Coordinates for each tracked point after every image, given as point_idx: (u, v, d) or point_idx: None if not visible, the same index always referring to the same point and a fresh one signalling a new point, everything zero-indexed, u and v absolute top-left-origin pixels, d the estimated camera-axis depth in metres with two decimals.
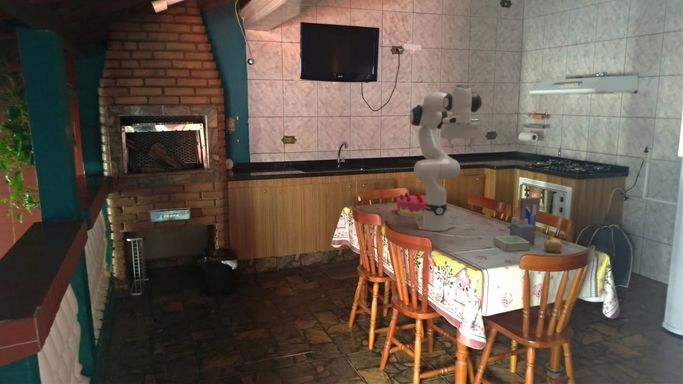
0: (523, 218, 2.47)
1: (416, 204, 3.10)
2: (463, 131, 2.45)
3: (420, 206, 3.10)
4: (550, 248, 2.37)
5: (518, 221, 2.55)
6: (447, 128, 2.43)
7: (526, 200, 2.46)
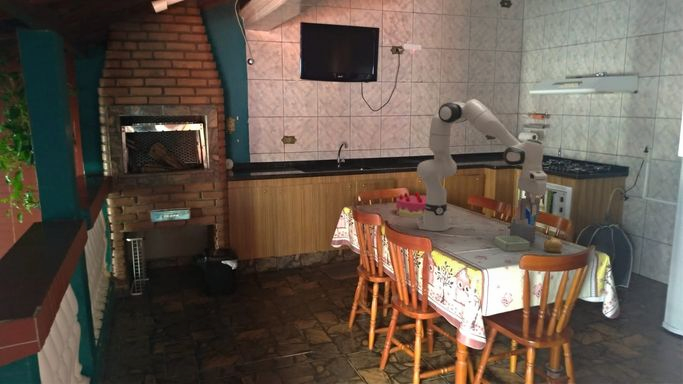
0: (523, 218, 2.47)
1: (415, 204, 3.10)
2: None
3: (419, 206, 3.10)
4: (550, 248, 2.37)
5: (518, 221, 2.55)
6: None
7: (526, 200, 2.46)
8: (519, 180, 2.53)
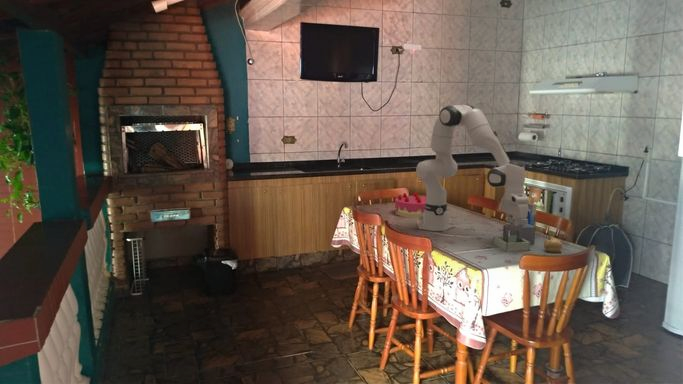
0: None
1: (414, 204, 3.09)
2: None
3: (418, 206, 3.09)
4: (550, 248, 2.37)
5: None
6: None
7: (508, 227, 2.44)
8: (502, 202, 2.51)
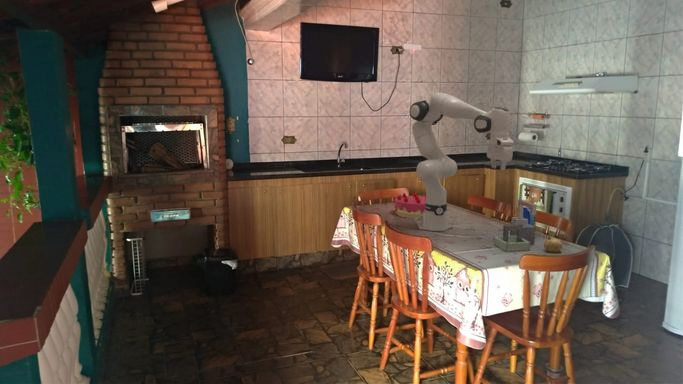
0: None
1: (414, 205, 3.09)
2: None
3: (418, 207, 3.08)
4: (550, 248, 2.37)
5: (518, 221, 2.55)
6: None
7: (508, 227, 2.44)
8: (488, 148, 2.58)
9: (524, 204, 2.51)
